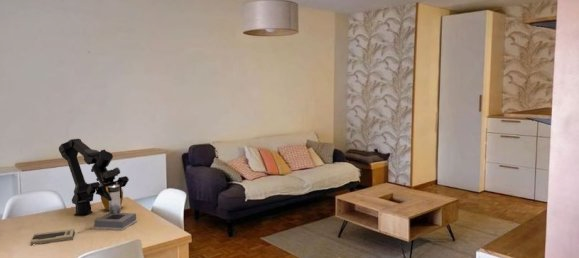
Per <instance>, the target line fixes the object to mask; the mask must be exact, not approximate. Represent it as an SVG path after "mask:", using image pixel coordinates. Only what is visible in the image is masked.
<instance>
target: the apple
mask: <svg viewBox="0 0 579 258" xmlns="http://www.w3.org/2000/svg"><path fill="white" fill-rule="evenodd" d="M106 190H107V192H108V187H106ZM121 193H122V198H120V205H121V206H122V203H123V200H124V199H123V198H124V191H123V187H121ZM100 200H101V203H102V204H103V206H104V208H105V209H106V210H108V211H109V200H107V199H106V198H104V197H102V196H100Z"/></svg>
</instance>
